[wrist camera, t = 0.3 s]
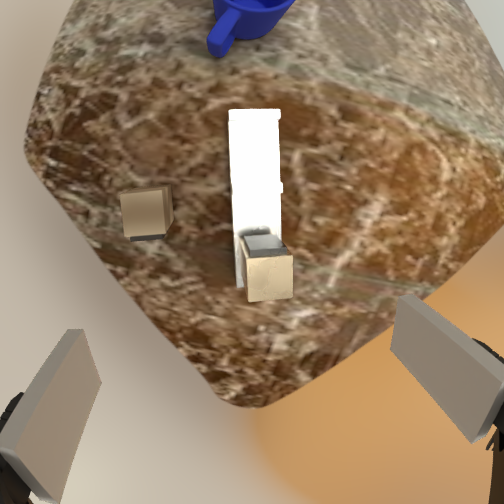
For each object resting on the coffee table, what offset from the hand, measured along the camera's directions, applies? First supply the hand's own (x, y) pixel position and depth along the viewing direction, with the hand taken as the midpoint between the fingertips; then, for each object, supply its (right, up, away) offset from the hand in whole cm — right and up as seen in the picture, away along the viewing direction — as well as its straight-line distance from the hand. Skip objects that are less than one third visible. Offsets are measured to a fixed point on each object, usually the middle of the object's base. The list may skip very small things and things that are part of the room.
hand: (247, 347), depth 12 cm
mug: (-2, +29, +18) cm, 34 cm away
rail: (0, +10, +24) cm, 25 cm away
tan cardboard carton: (-11, +9, +22) cm, 26 cm away
